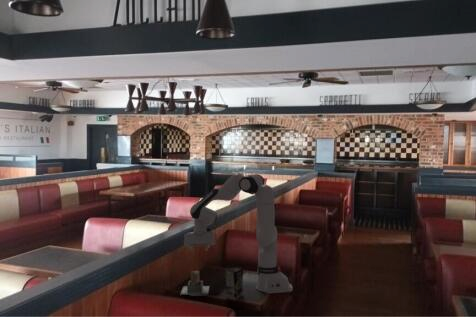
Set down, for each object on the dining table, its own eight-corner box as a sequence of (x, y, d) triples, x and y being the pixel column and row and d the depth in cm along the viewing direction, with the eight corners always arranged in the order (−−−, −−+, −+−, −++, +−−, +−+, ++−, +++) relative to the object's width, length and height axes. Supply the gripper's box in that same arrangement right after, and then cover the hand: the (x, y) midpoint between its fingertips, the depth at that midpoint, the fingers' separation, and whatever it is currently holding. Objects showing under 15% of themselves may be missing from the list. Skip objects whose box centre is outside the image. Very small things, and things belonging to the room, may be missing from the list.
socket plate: (209, 288, 244) (209, 279, 244) (207, 295, 232) (207, 286, 232) (183, 288, 244) (183, 279, 244) (180, 295, 232) (180, 286, 232)
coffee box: (235, 300, 224) (235, 272, 224) (225, 298, 227) (225, 270, 227) (243, 295, 232) (243, 268, 231) (234, 293, 235) (233, 266, 235)
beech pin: (199, 288, 240) (199, 270, 240) (198, 290, 236) (198, 272, 235) (192, 288, 240) (192, 270, 240) (191, 291, 236) (191, 272, 235)
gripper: (183, 230, 258) (182, 248, 248) (215, 229, 258) (214, 247, 248) (185, 235, 262) (183, 253, 253) (215, 234, 262) (215, 253, 253)
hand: (199, 250), depth 250 cm, fingers open, 8 cm apart
